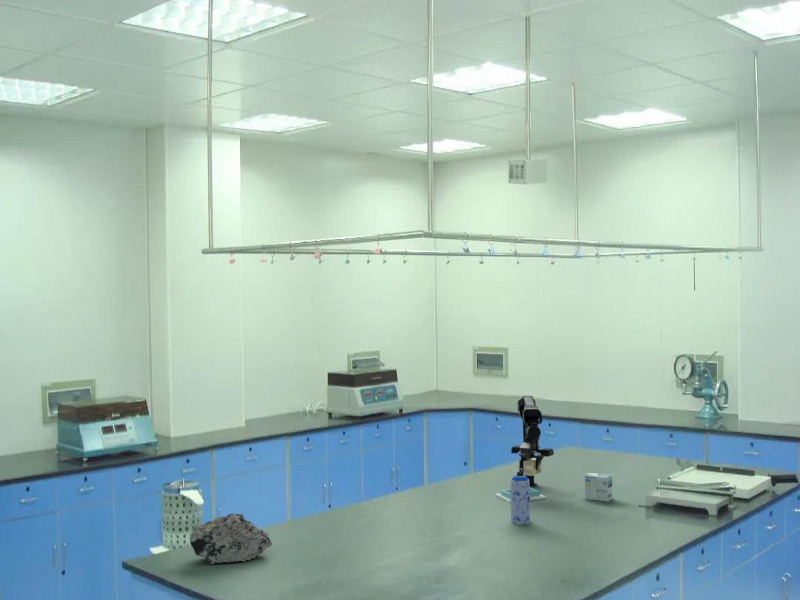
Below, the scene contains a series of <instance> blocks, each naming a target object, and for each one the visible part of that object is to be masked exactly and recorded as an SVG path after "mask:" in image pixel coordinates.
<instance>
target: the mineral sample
mask: <svg viewBox="0 0 800 600" xmlns="http://www.w3.org/2000/svg"><path fill="white" fill-rule="evenodd" d="M268 535H270V533H269V532H266V531H264V530H263V529H259V528H258V527H257V526H256V525H254V524H253V522H251V521H248V520H246V519H245V517H244V514H243V513H229V514H227V515H226V516H219V517H216V518H214V520H208V521H206V522H205V523H204V524H200V525H196V526H195V527H194V529H193V530H192V532H191V533H190V536H189V540H190V546H191V547H192V549H193V551H194V554H195V555H196V556H198V557H202V558H204V559H205V560H206V561H207V562H208V564H209V563H210V564H209V565H211V564H213V563H220V564H223V563H222V562H226V563H234V562H239V561H242V562H247V561H246V560H249V561H250V560H253V559H255V558H257V557H258V555H260V554H262V553H263V552H264V551H266V550H267V549H268V548H269V547H271V546H272V545H273V543H272V540H271V537H268ZM252 558H253V559H252ZM213 565H214V564H213Z"/></svg>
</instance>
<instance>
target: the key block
mask: <svg viewBox="0 0 800 600" xmlns="http://www.w3.org/2000/svg"><path fill="white" fill-rule="evenodd" d="M523 466H524V475H528V476H533V475H534V476H535V475H537V474H540V473H542V463H541V464H540V466H539V469H538V470H537V471H536V458H532V459H529V460H526V461H524V462H523Z"/></svg>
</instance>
